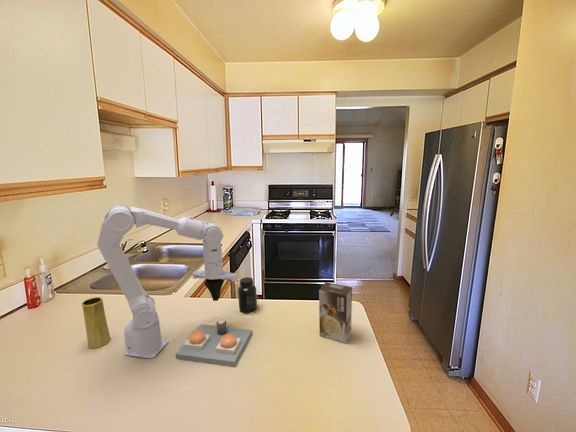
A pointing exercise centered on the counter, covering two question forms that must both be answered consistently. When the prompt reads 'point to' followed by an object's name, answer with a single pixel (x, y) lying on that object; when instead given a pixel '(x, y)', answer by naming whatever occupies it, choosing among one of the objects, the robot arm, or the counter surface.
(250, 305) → the supplement bottle
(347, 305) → the coffee box
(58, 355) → the counter surface
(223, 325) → the white domed button
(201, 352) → the mount board
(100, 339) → the vase
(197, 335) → the knob
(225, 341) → the knob
